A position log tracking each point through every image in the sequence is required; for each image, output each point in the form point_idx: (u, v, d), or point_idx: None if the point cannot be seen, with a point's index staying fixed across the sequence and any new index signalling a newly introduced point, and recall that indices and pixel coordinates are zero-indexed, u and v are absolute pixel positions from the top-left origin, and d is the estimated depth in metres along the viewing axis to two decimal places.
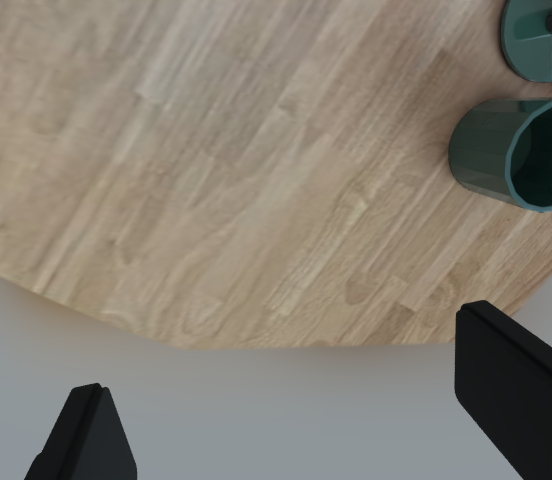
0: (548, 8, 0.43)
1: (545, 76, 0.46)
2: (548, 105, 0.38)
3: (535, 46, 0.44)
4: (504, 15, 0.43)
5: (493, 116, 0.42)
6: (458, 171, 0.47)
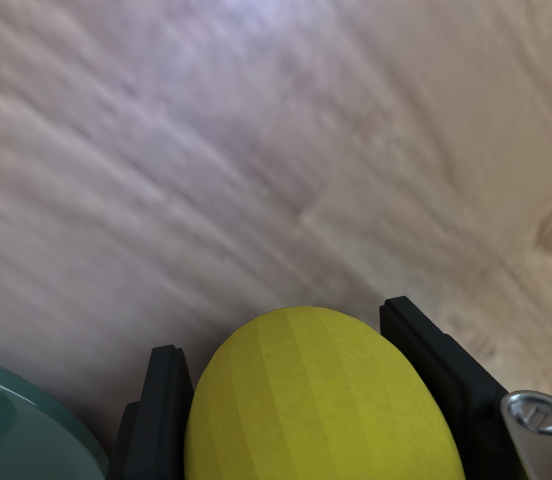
0: None
1: None
2: None
3: None
4: None
5: None
6: None
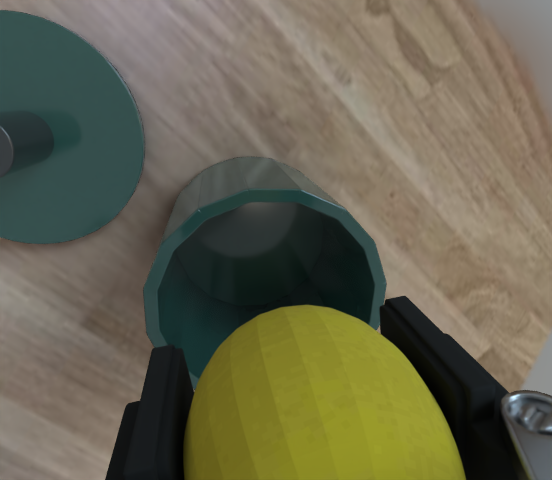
0: None
1: (131, 156, 0.24)
2: (156, 340, 0.18)
3: (75, 181, 0.24)
4: (22, 240, 0.25)
5: None
6: None
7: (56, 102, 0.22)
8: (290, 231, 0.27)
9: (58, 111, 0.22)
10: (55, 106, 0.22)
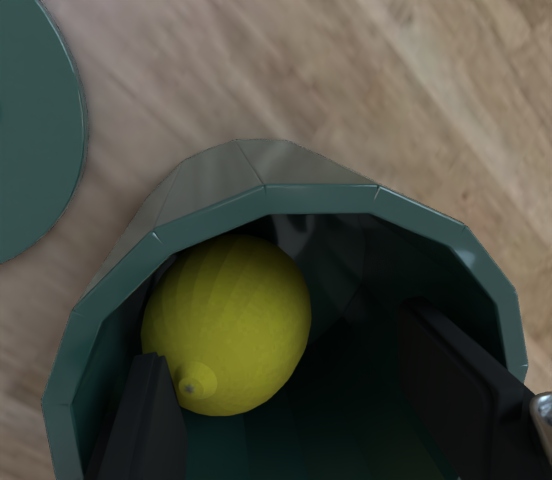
0: None
1: (65, 137, 0.15)
2: None
3: None
4: None
5: None
6: None
7: None
8: (317, 252, 0.18)
9: None
10: None
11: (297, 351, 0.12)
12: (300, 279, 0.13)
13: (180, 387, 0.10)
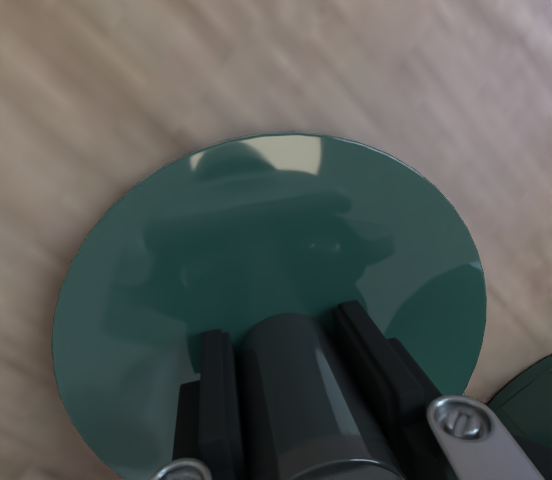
0: None
1: (457, 368, 0.13)
2: None
3: None
4: None
5: None
6: None
7: (353, 293, 0.11)
8: None
9: None
10: (350, 300, 0.11)
11: None
12: None
13: None
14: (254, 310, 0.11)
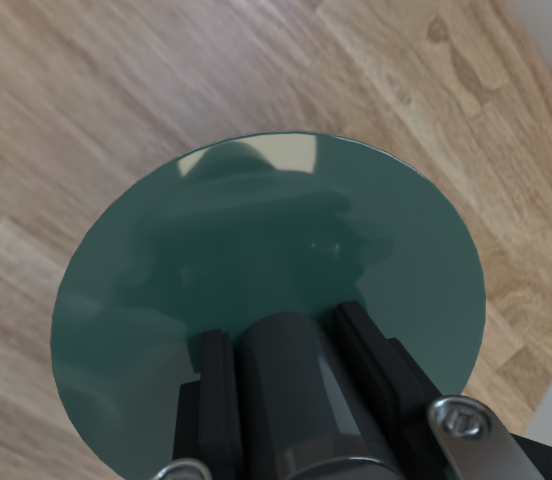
0: None
1: (457, 367, 0.13)
2: None
3: None
4: None
5: None
6: None
7: (352, 292, 0.11)
8: None
9: None
10: (349, 299, 0.11)
11: None
12: None
13: None
14: (253, 309, 0.11)
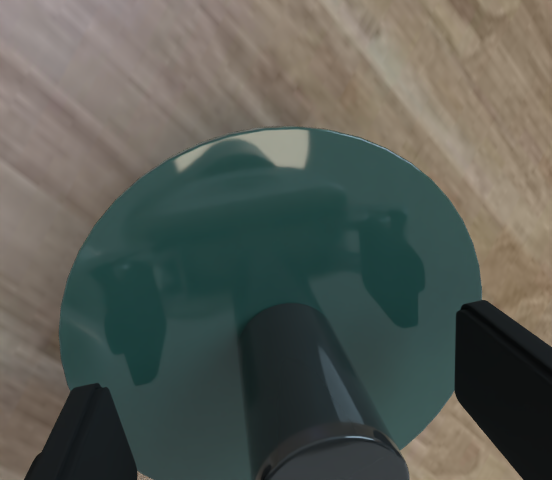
0: None
1: (453, 358, 0.13)
2: None
3: None
4: None
5: None
6: None
7: (351, 284, 0.12)
8: None
9: (352, 298, 0.12)
10: (348, 290, 0.12)
11: None
12: None
13: None
14: (255, 300, 0.11)
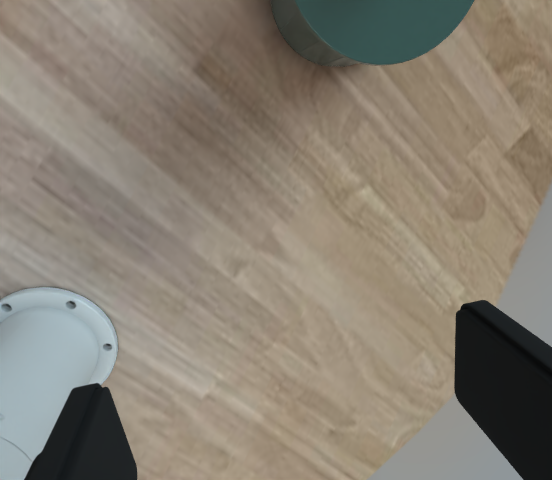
0: None
1: None
2: None
3: None
4: (357, 61, 0.25)
5: (295, 27, 0.29)
6: None
7: None
8: None
9: None
10: None
11: None
12: None
13: None
14: None
